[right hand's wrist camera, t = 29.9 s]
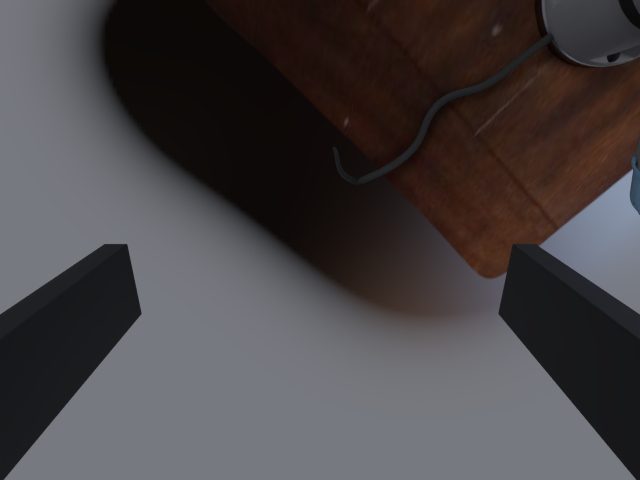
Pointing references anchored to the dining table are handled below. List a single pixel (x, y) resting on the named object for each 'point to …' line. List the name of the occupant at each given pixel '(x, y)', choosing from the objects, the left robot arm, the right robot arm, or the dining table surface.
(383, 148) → the dining table surface
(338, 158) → the right robot arm
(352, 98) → the dining table surface
